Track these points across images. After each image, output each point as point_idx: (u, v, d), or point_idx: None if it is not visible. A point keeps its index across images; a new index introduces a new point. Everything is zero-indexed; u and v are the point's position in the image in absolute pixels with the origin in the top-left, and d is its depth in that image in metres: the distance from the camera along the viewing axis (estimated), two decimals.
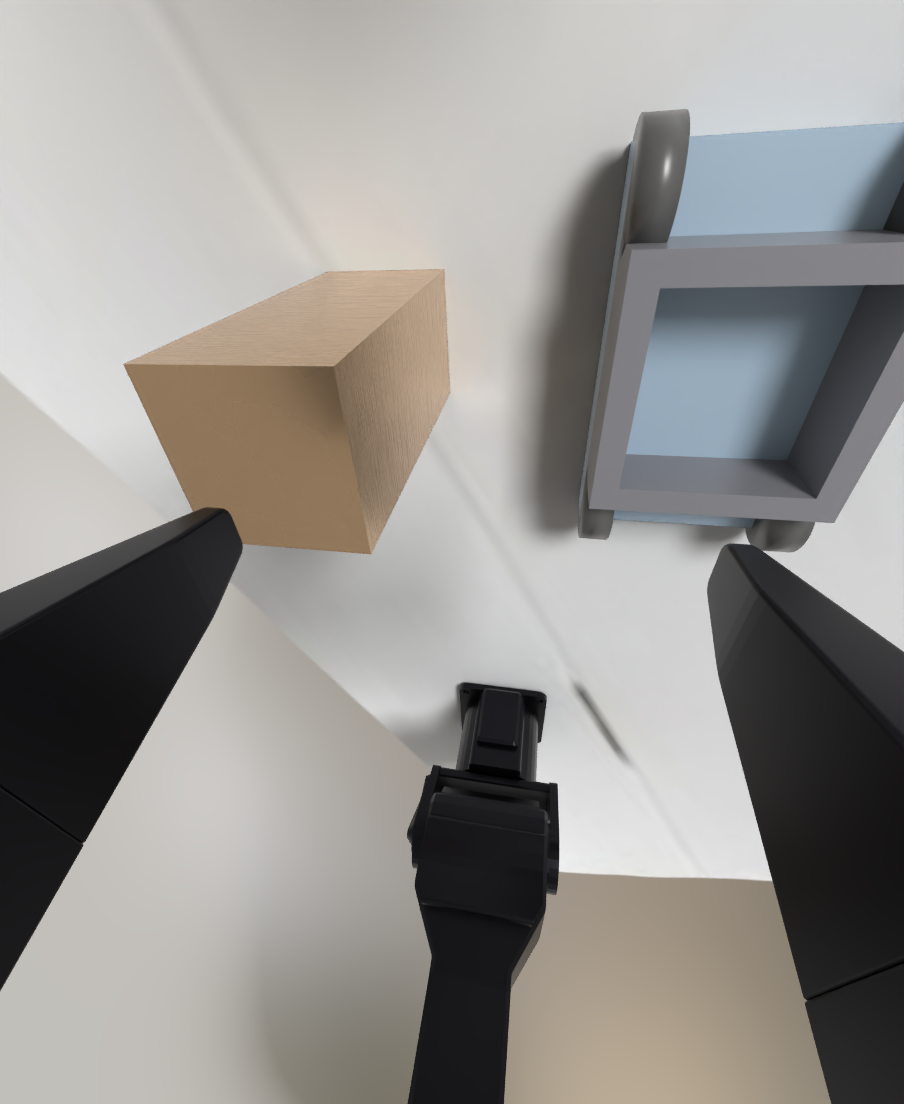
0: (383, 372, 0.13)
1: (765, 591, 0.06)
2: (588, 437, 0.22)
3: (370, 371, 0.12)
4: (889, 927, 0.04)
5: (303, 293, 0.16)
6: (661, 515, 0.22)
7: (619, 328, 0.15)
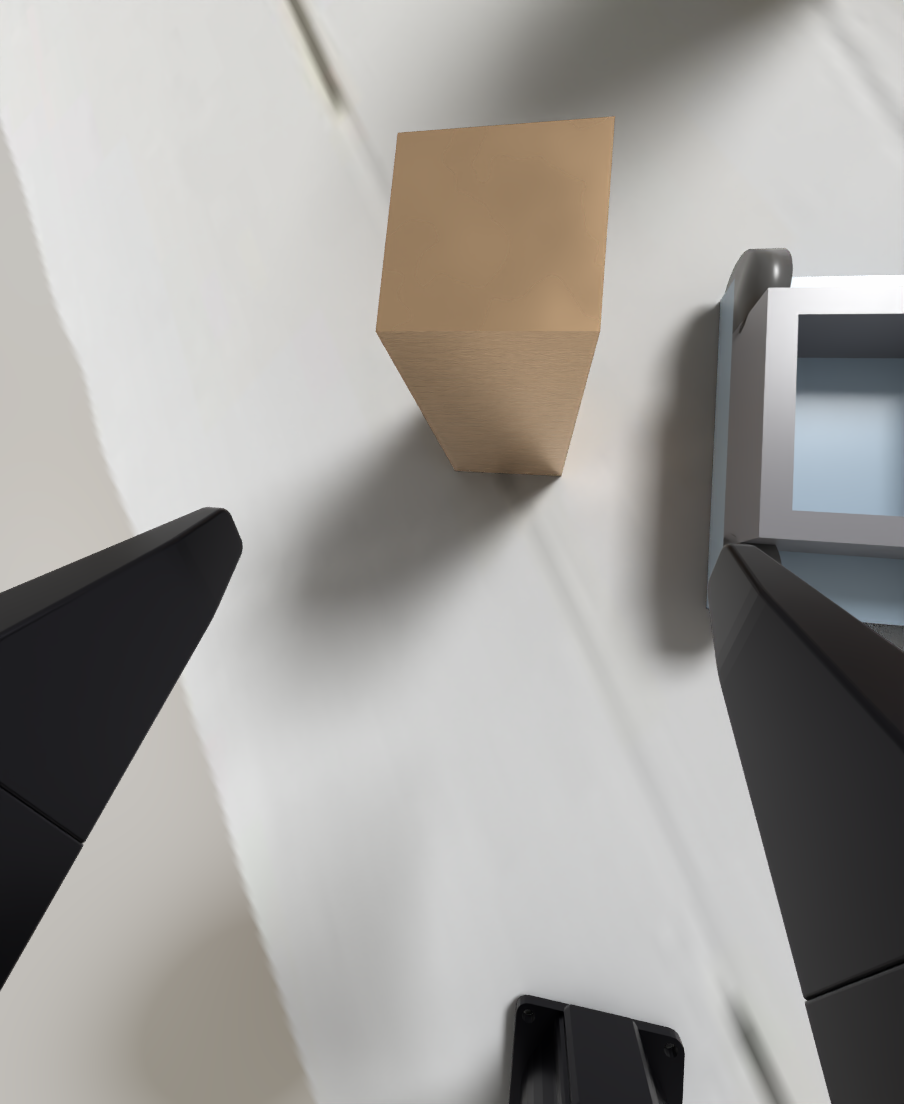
0: None
1: (765, 591, 0.06)
2: (713, 522, 0.20)
3: None
4: (889, 927, 0.04)
5: None
6: None
7: (766, 345, 0.17)
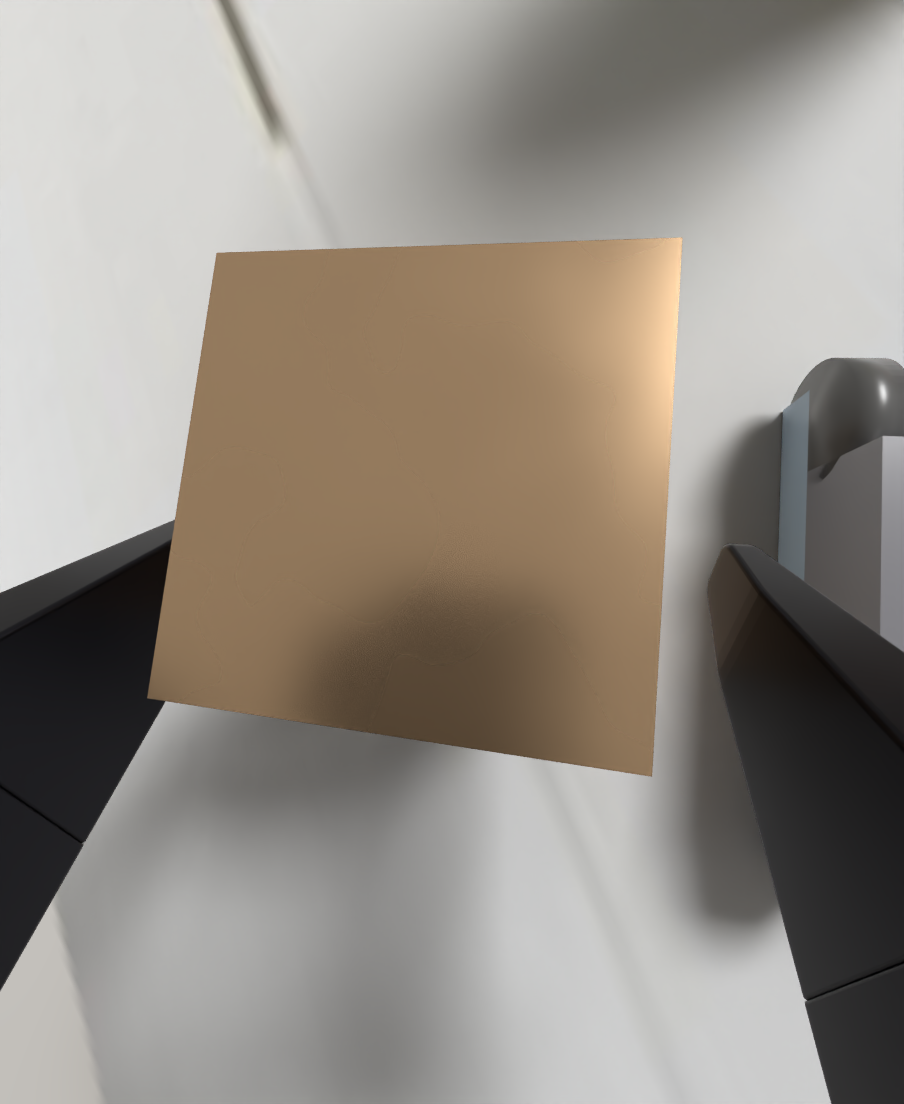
0: None
1: (765, 591, 0.06)
2: None
3: None
4: (889, 927, 0.04)
5: None
6: None
7: (881, 527, 0.11)
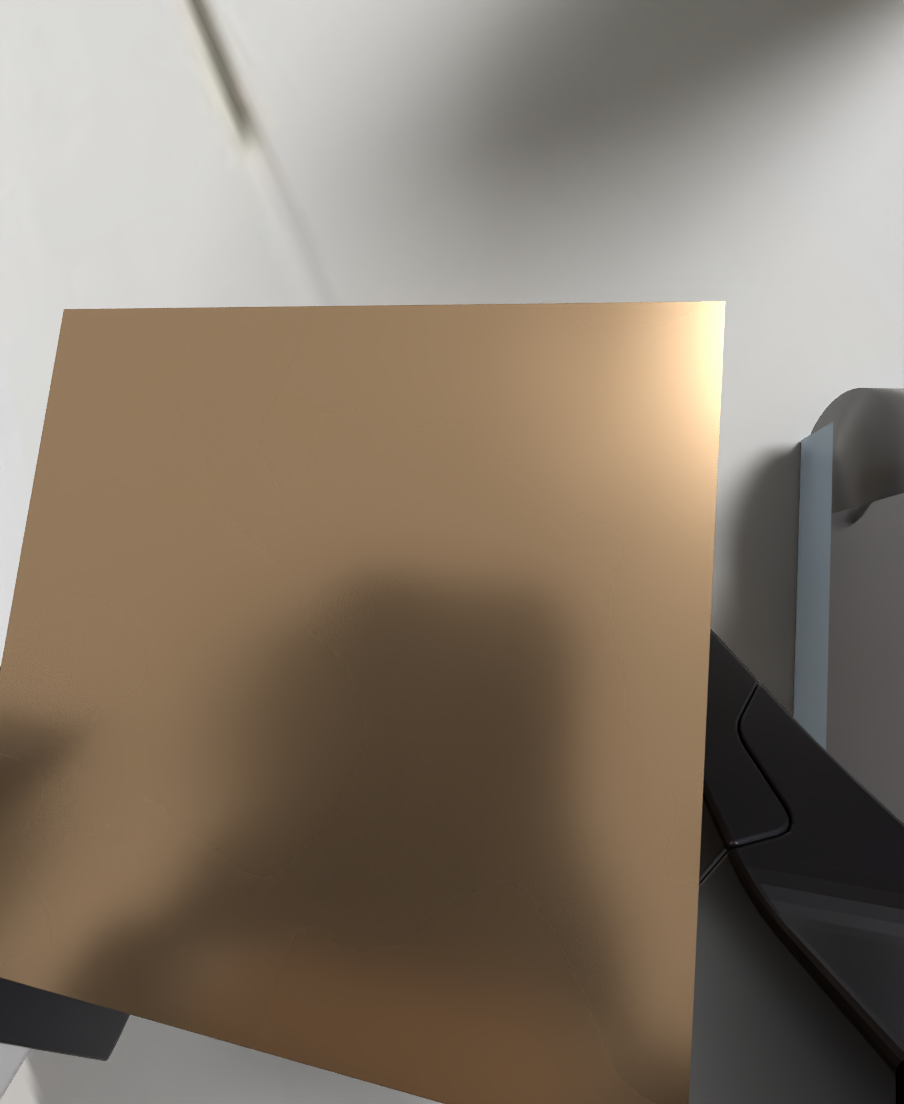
0: None
1: None
2: None
3: None
4: None
5: None
6: None
7: None
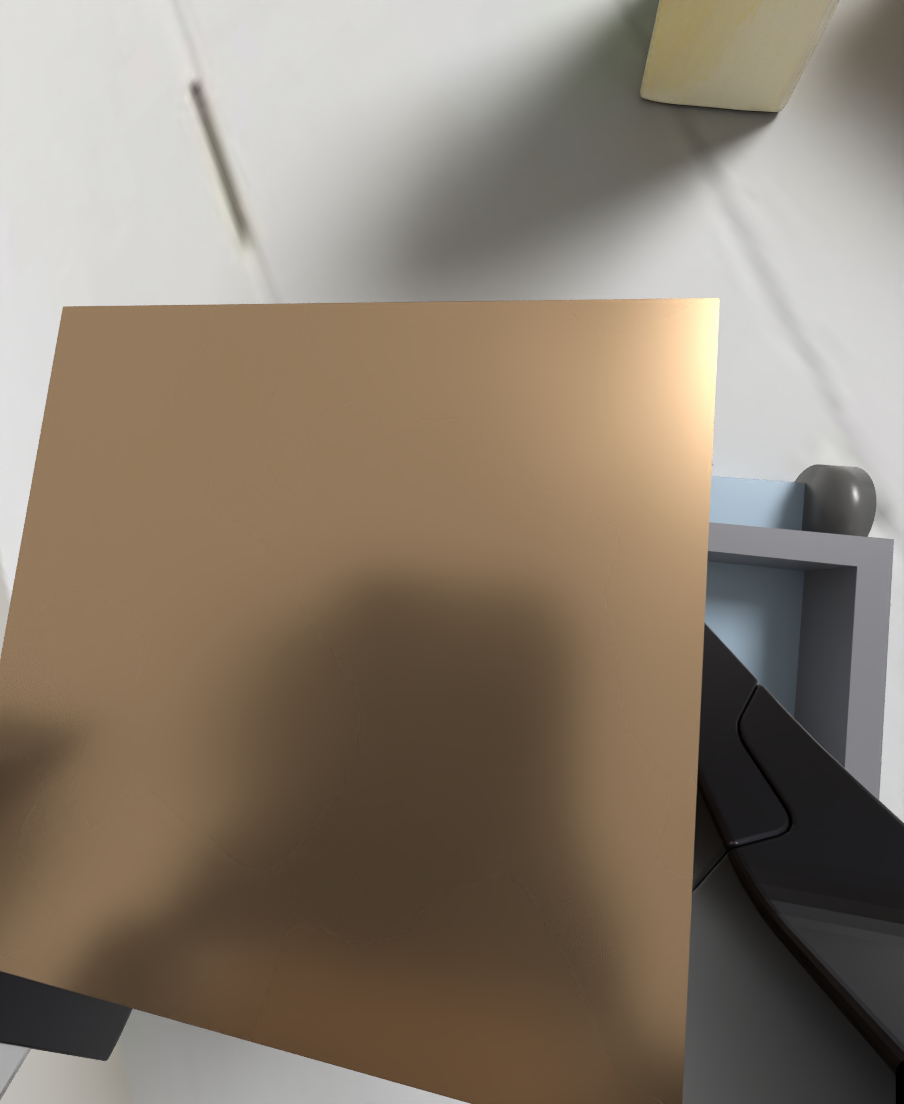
0: None
1: None
2: None
3: None
4: None
5: None
6: None
7: None
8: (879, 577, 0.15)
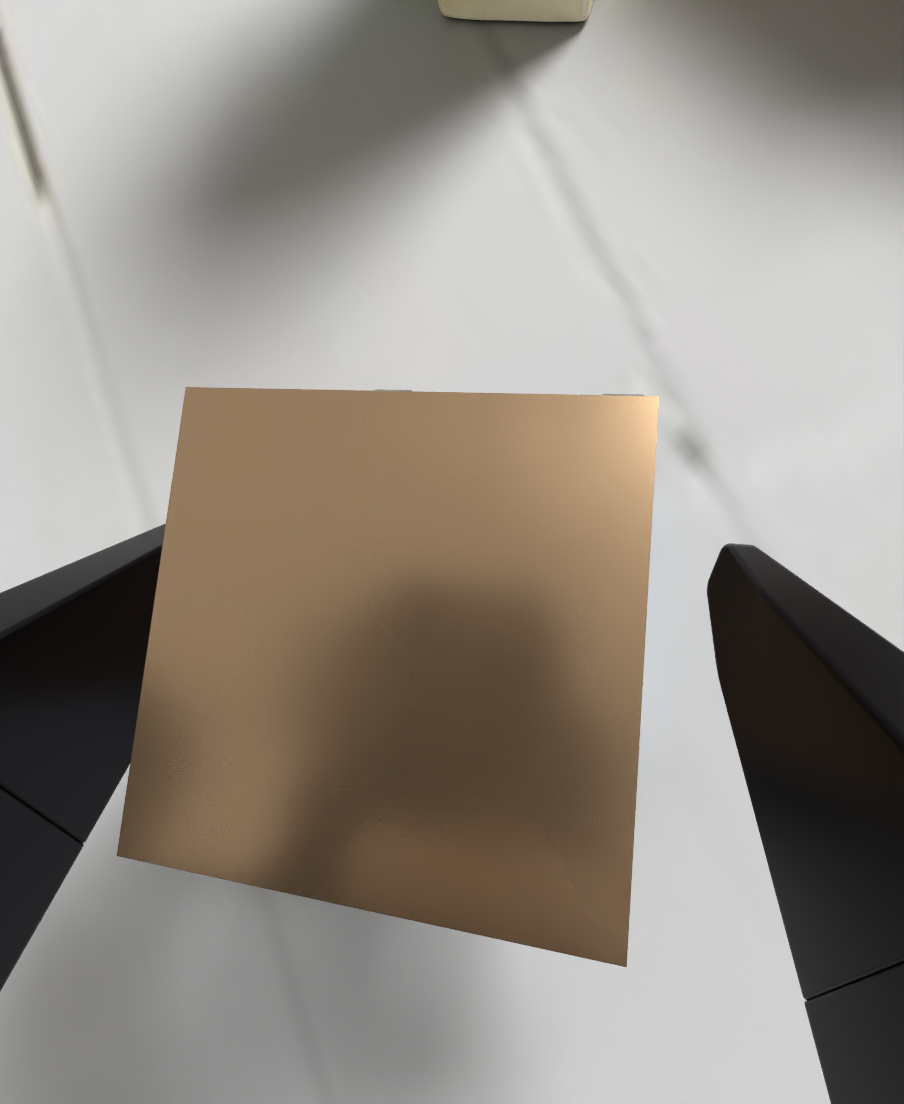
0: None
1: (765, 591, 0.06)
2: None
3: None
4: (888, 927, 0.04)
5: None
6: None
7: None
8: None
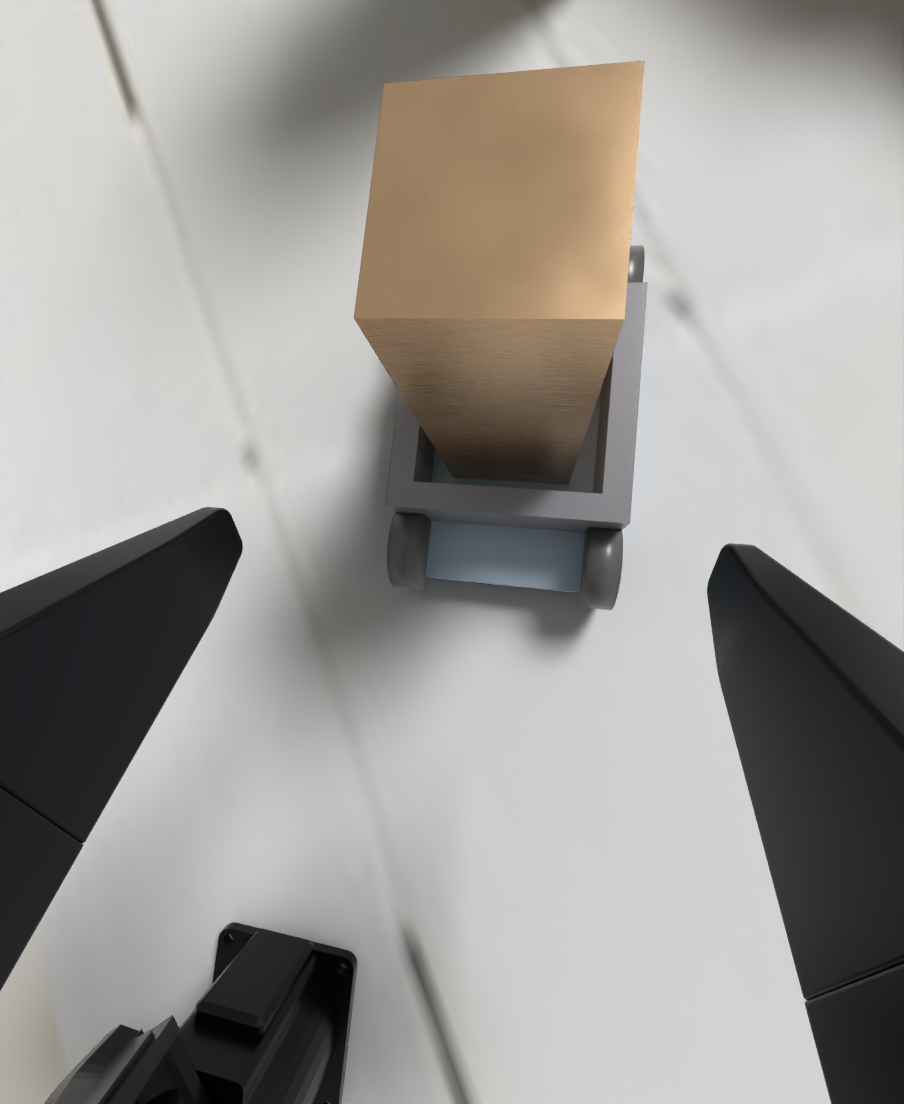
0: None
1: (765, 591, 0.06)
2: None
3: None
4: (890, 927, 0.04)
5: None
6: (483, 573, 0.20)
7: None
8: (634, 315, 0.17)
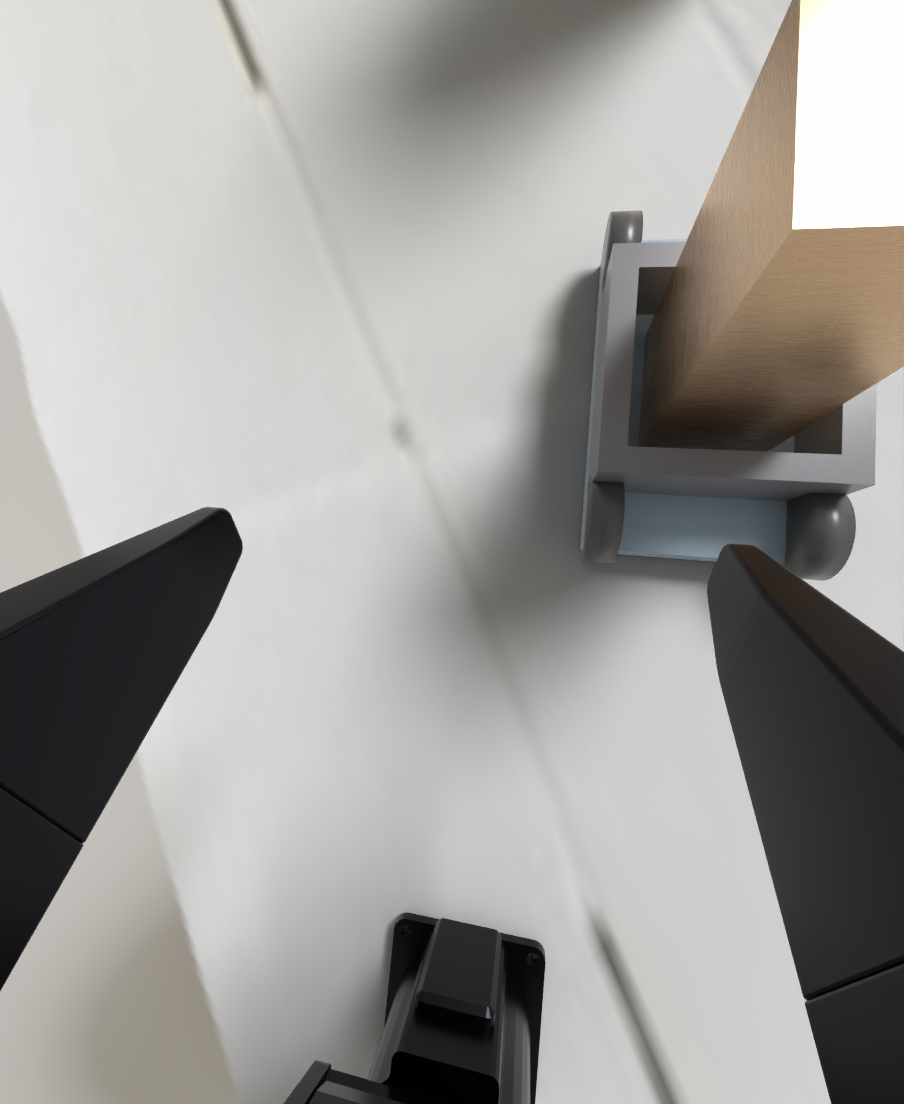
0: None
1: (765, 591, 0.06)
2: (586, 470, 0.21)
3: None
4: (889, 927, 0.04)
5: None
6: (677, 545, 0.19)
7: (610, 296, 0.18)
8: None
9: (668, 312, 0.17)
